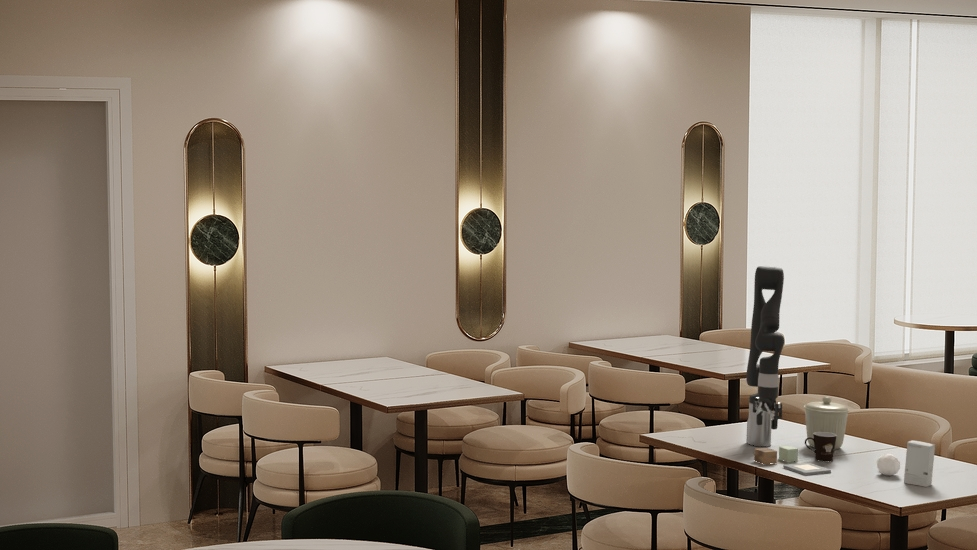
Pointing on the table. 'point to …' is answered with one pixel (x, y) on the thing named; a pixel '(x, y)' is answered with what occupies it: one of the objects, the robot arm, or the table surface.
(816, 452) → the coffee mug
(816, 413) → the canister
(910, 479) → the skincare box
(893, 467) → the white rounded lump
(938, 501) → the table surface
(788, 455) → the sage cube
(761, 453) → the walnut block
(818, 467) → the slate board
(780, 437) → the table surface
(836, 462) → the table surface
